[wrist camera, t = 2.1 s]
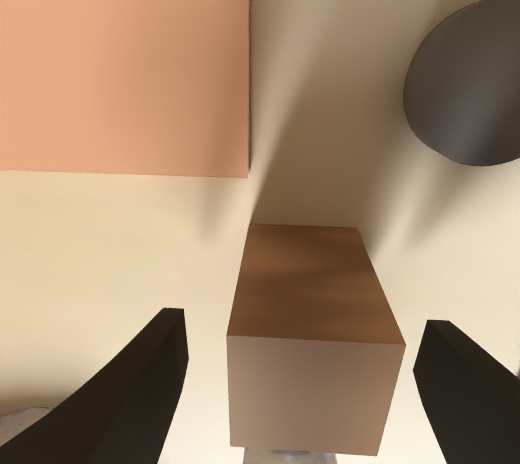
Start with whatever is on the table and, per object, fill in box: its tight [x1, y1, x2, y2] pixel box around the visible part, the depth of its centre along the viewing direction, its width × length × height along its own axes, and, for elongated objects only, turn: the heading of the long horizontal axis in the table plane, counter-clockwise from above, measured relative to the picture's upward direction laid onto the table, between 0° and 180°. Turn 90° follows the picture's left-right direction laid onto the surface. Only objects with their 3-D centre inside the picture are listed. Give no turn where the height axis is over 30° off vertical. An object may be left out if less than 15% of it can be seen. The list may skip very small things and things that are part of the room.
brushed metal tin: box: [243, 447, 337, 464], centre depth 16 cm, size 4×4×4 cm
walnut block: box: [226, 224, 406, 456], centre depth 12 cm, size 4×4×6 cm
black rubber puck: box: [404, 0, 520, 166], centre depth 10 cm, size 4×4×2 cm
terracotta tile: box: [0, 0, 249, 178], centre depth 10 cm, size 10×10×1 cm
